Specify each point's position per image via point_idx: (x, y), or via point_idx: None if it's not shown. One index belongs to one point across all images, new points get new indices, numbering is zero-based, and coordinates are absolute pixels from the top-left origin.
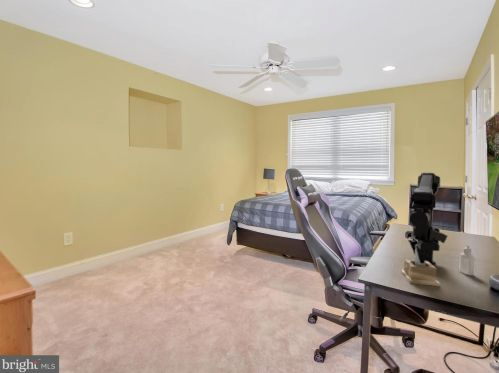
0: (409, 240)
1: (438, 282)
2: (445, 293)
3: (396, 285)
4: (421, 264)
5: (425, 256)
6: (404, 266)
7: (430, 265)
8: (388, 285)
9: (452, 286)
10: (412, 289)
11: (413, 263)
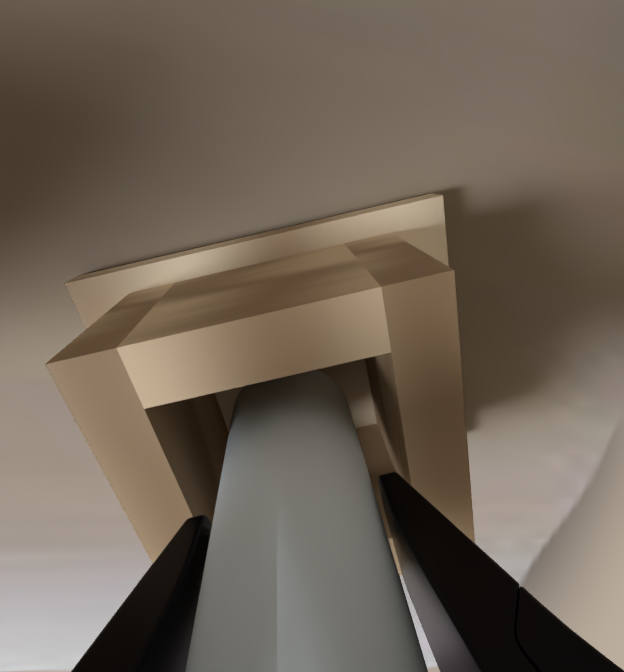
0: None
1: (420, 209)
2: (614, 174)
3: (521, 515)
4: (367, 471)
5: (506, 589)
6: None
7: (319, 345)
8: (533, 554)
9: (395, 42)
10: (573, 426)
11: (208, 510)
